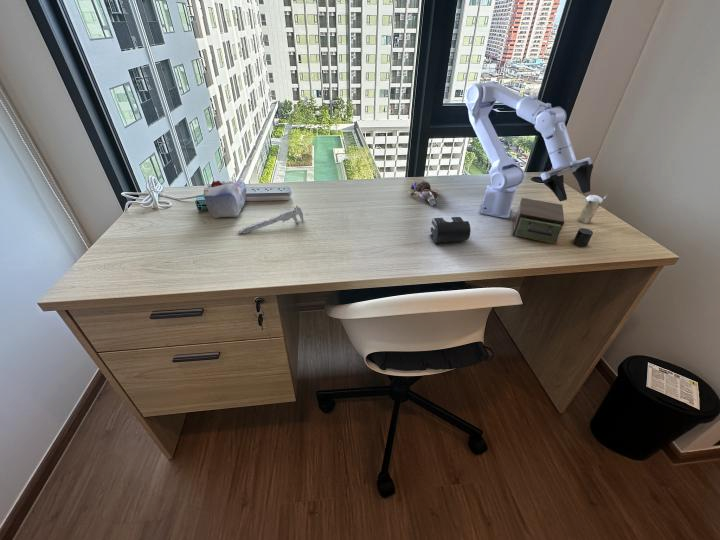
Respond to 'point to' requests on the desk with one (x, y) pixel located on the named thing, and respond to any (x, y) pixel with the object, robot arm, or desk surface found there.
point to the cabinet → (539, 212)
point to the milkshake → (590, 208)
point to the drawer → (538, 229)
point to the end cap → (450, 230)
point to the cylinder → (582, 237)
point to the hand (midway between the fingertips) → (575, 196)
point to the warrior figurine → (424, 191)
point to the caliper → (275, 219)
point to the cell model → (225, 198)
